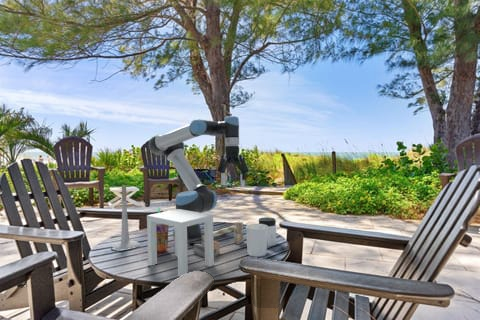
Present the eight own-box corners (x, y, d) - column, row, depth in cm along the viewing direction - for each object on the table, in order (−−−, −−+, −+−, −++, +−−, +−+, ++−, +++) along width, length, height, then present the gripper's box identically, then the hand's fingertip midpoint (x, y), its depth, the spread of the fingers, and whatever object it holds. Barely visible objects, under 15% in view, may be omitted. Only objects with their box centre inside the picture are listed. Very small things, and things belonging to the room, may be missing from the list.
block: (203, 253, 132) (203, 242, 132) (211, 250, 136) (211, 240, 136) (211, 256, 129) (211, 244, 129) (219, 253, 133) (219, 242, 133)
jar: (265, 247, 139) (265, 222, 139) (255, 243, 146) (254, 218, 146) (280, 244, 144) (279, 219, 144) (269, 240, 151) (269, 216, 150)
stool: (148, 265, 120) (146, 215, 119) (179, 254, 132) (178, 208, 132) (182, 278, 106) (181, 222, 106) (213, 264, 119) (212, 214, 118)
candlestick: (127, 241, 152) (125, 182, 151) (145, 245, 146) (143, 183, 145) (105, 248, 141) (103, 185, 140) (123, 253, 135) (121, 186, 134)
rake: (232, 239, 153) (231, 220, 153) (250, 243, 145) (250, 223, 145) (193, 253, 133) (193, 231, 132) (213, 259, 125) (212, 235, 125)
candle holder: (244, 250, 136) (244, 224, 136) (266, 249, 137) (265, 223, 136) (247, 257, 126) (246, 229, 126) (270, 256, 127) (269, 228, 127)
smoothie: (152, 255, 130) (151, 210, 130) (148, 250, 138) (147, 207, 137) (171, 252, 134) (170, 208, 134) (167, 247, 142) (166, 205, 141)
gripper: (210, 146, 164) (211, 184, 165) (246, 145, 149) (246, 187, 149) (219, 146, 170) (220, 183, 171) (255, 145, 154) (255, 186, 155)
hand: (232, 185), depth 160 cm, fingers open, 13 cm apart
